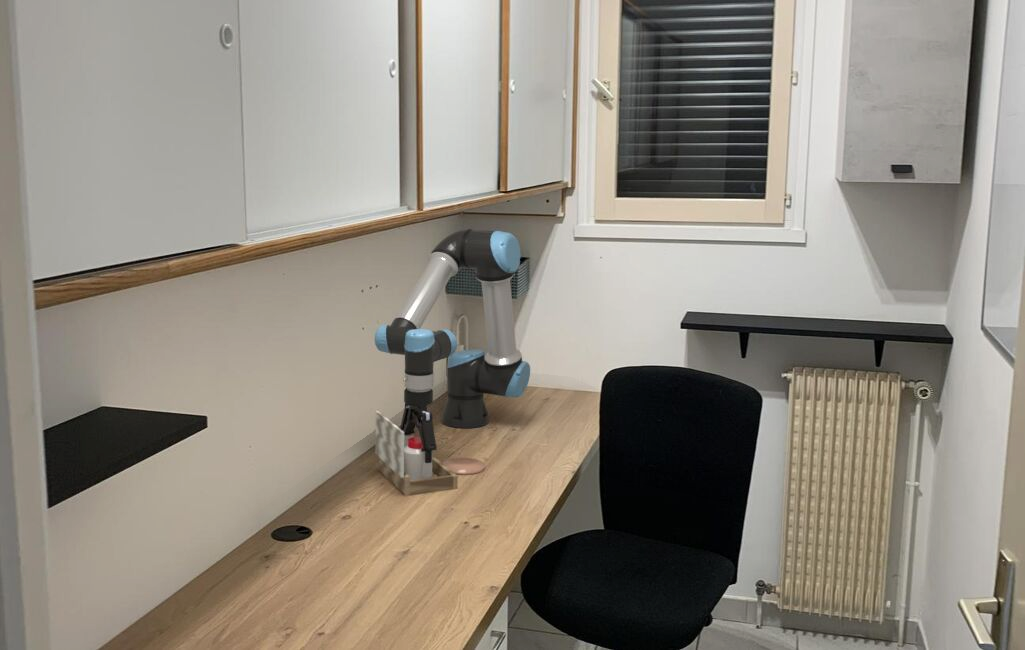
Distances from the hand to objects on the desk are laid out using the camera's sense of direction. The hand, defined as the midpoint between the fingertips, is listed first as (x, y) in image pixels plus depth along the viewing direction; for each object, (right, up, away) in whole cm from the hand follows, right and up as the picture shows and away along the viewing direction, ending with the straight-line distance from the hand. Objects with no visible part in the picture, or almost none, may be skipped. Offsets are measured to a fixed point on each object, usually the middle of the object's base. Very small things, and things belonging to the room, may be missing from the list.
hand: (417, 466), depth 260 cm
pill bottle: (0, -4, +1) cm, 4 cm away
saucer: (+12, -2, +11) cm, 16 cm away
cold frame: (0, -4, +1) cm, 4 cm away
